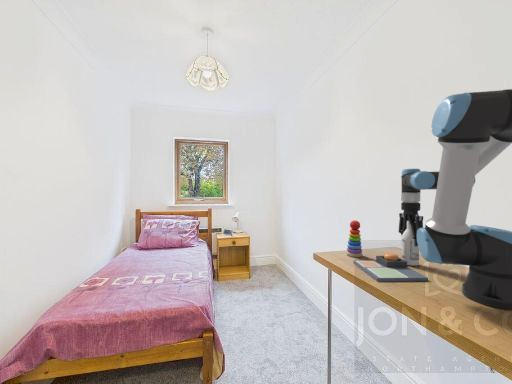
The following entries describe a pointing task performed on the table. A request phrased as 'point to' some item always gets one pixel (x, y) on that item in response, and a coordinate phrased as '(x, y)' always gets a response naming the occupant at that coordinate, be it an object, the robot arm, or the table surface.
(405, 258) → the bath foam
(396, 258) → the button
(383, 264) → the picture board
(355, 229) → the stacking toy
